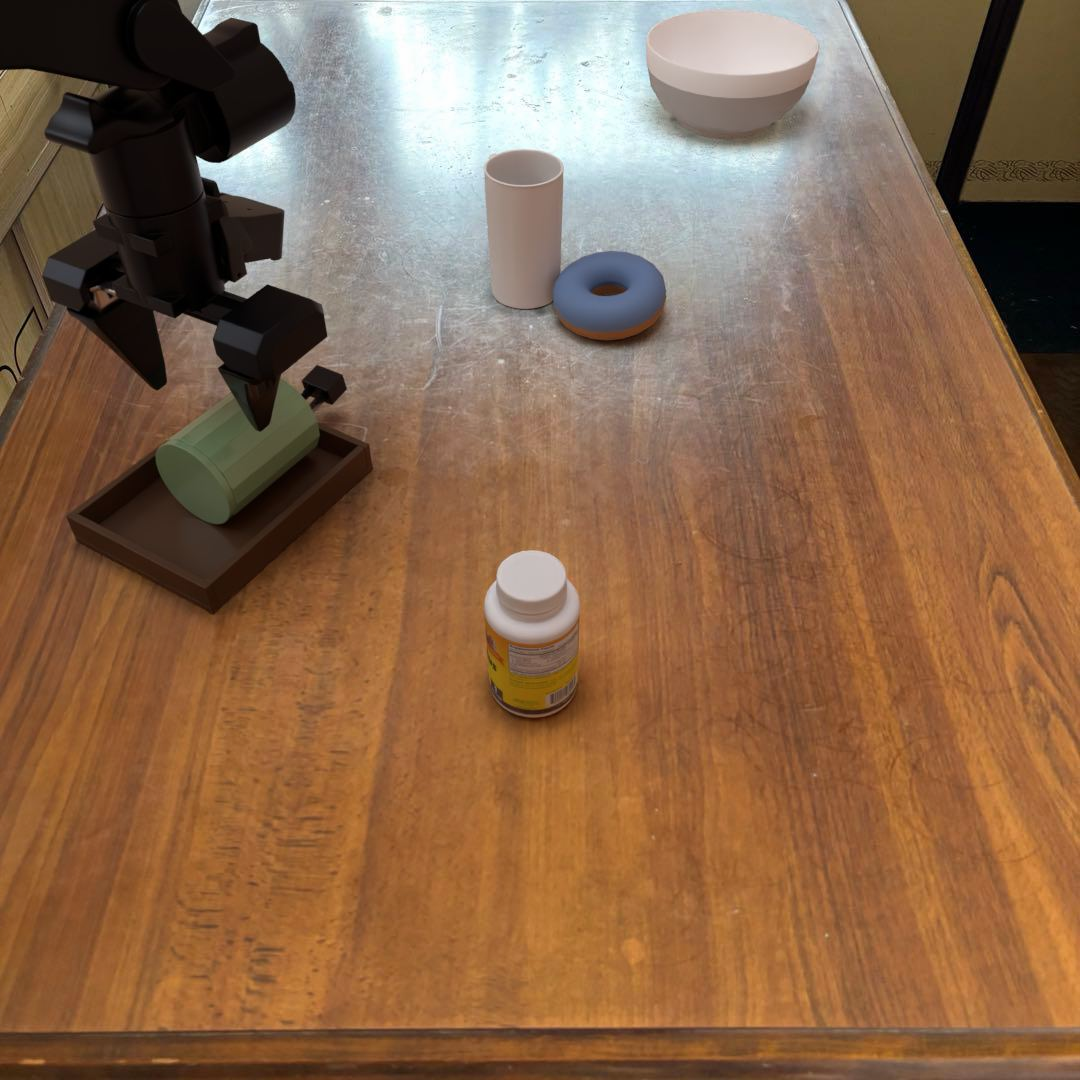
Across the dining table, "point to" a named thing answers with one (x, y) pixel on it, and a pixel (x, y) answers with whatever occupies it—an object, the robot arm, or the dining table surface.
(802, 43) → the bowl
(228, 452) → the cup
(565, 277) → the doughnut
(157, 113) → the robot arm
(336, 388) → the black component with leads
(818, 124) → the dining table surface
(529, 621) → the supplement bottle
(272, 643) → the dining table surface
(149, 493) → the tray
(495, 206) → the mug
